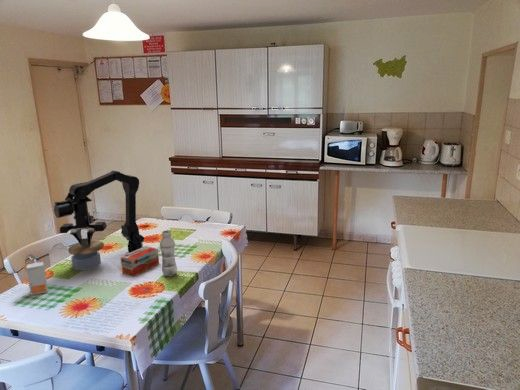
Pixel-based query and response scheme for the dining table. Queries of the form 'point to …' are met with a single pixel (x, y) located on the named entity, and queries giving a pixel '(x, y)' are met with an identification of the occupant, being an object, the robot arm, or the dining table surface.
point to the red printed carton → (140, 260)
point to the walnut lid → (85, 247)
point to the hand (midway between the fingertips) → (86, 245)
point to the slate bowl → (86, 261)
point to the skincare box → (36, 278)
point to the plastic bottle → (168, 254)
